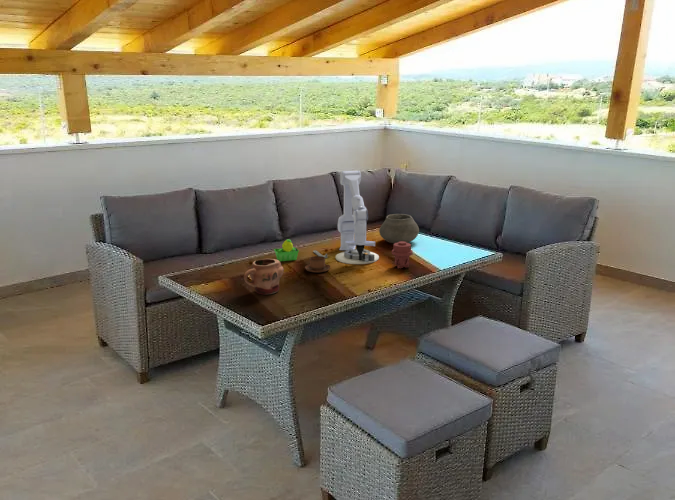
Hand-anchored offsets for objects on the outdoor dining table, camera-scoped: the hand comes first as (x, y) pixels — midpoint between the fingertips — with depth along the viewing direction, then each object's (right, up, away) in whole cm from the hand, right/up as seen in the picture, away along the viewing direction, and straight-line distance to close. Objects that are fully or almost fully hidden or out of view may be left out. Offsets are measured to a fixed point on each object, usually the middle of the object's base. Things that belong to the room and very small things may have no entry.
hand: (360, 259), depth 300 cm
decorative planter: (-42, -14, -41) cm, 61 cm away
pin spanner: (-20, +2, +15) cm, 25 cm away
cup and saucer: (-21, -5, -11) cm, 24 cm away
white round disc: (-1, +1, +9) cm, 9 cm away
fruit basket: (-37, 0, +7) cm, 37 cm away
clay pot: (+23, +9, +38) cm, 45 cm away
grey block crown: (-1, +1, +7) cm, 7 cm away
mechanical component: (+20, -3, -6) cm, 21 cm away
